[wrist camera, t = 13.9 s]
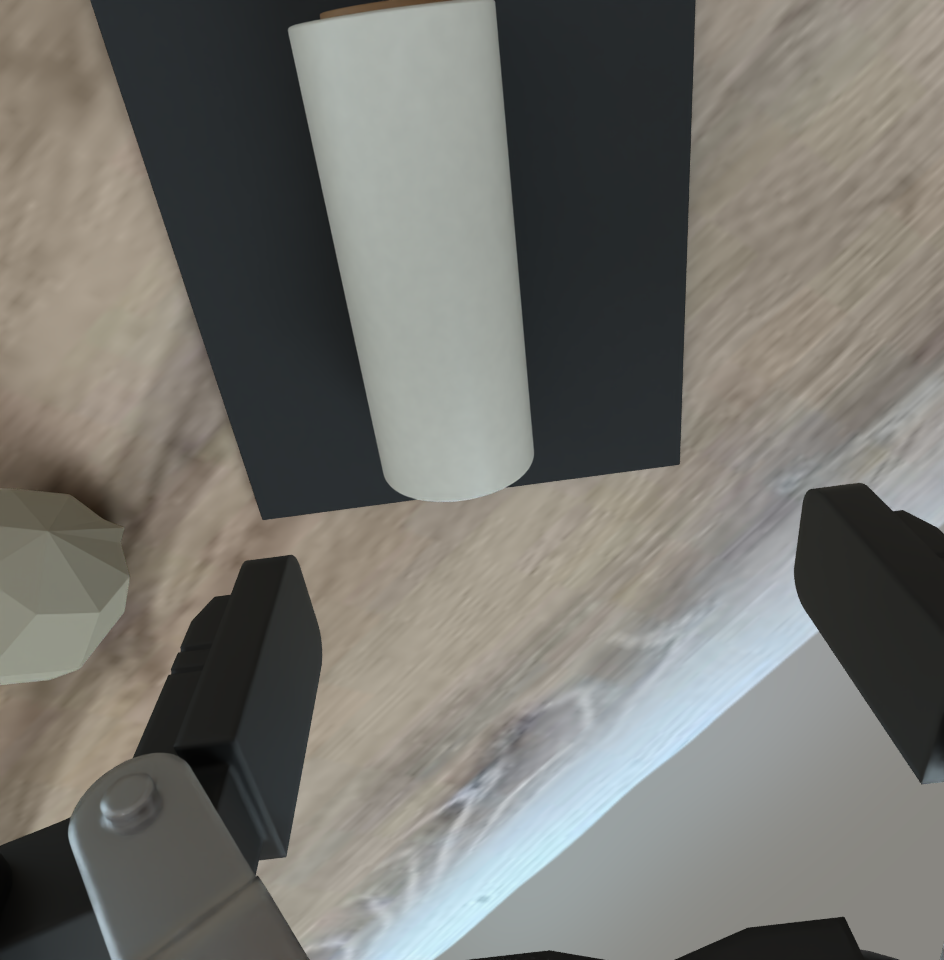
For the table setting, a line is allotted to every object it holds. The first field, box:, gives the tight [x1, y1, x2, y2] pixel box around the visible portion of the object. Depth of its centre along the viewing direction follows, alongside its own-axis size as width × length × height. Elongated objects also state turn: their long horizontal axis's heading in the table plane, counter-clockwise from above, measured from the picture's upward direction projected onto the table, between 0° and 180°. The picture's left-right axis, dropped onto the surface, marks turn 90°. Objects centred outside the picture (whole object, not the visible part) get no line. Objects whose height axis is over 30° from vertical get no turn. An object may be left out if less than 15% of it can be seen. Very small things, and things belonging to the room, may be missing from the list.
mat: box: [90, 0, 696, 520], centre depth 26 cm, size 20×18×1 cm
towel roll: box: [288, 0, 534, 502], centre depth 23 cm, size 6×14×6 cm, turn 7°
